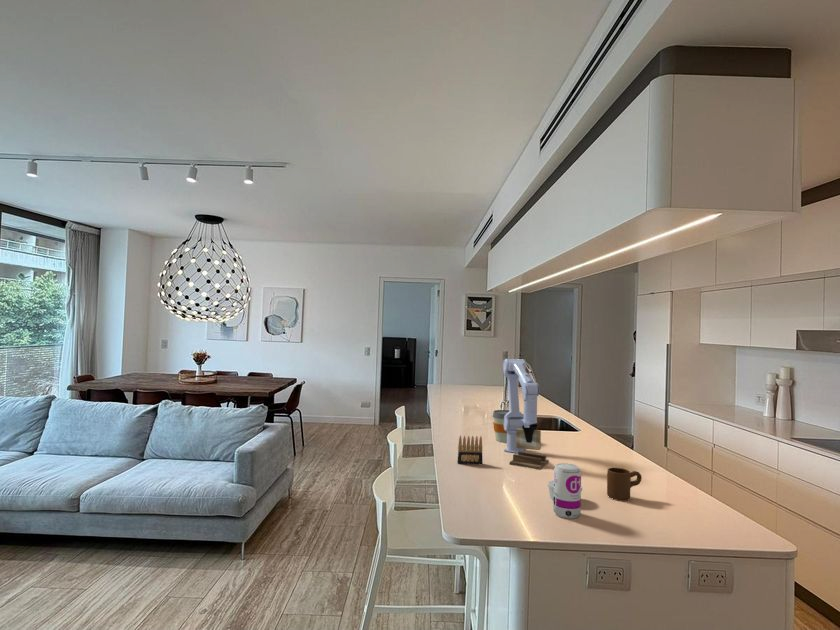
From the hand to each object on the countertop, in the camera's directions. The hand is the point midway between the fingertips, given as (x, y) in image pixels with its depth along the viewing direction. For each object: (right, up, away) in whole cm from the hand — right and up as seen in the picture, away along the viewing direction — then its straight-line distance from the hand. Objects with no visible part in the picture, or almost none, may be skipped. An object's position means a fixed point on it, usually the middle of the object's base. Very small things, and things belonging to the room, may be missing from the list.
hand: (529, 441), depth 212 cm
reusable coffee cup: (-4, -11, +43) cm, 44 cm away
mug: (+24, -9, -42) cm, 49 cm away
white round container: (+2, -8, -46) cm, 47 cm away
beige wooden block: (-1, -3, 0) cm, 3 cm away
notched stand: (0, -9, 0) cm, 9 cm away
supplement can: (-2, -8, -59) cm, 59 cm away
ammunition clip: (-26, -9, -3) cm, 28 cm away
